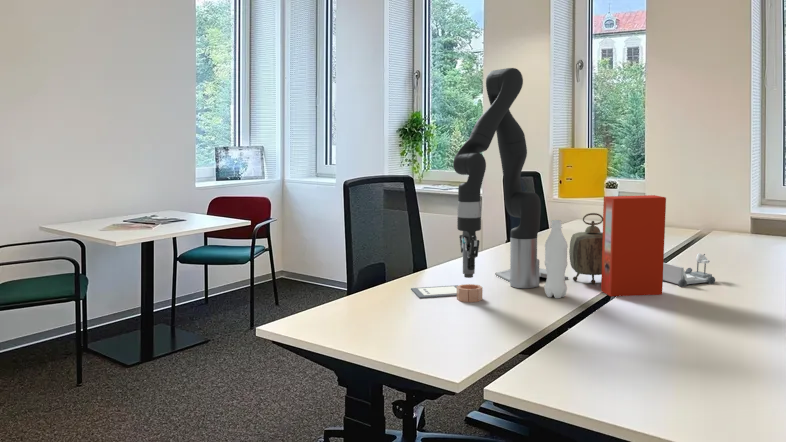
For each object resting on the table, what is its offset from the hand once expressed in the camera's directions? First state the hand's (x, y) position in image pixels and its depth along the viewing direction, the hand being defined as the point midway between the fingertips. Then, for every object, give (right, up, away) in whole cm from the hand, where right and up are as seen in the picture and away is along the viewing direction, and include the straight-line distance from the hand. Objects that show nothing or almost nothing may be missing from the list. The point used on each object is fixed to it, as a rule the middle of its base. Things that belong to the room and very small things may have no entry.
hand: (469, 268), depth 202 cm
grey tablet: (-9, -9, +11) cm, 17 cm away
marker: (0, -3, 0) cm, 3 cm away
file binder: (+54, -9, +6) cm, 55 cm away
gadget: (+27, -7, +32) cm, 42 cm away
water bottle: (+29, -10, +3) cm, 30 cm away
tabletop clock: (+46, -7, +21) cm, 51 cm away
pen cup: (0, -10, +1) cm, 10 cm away
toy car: (+80, -7, +21) cm, 83 cm away
